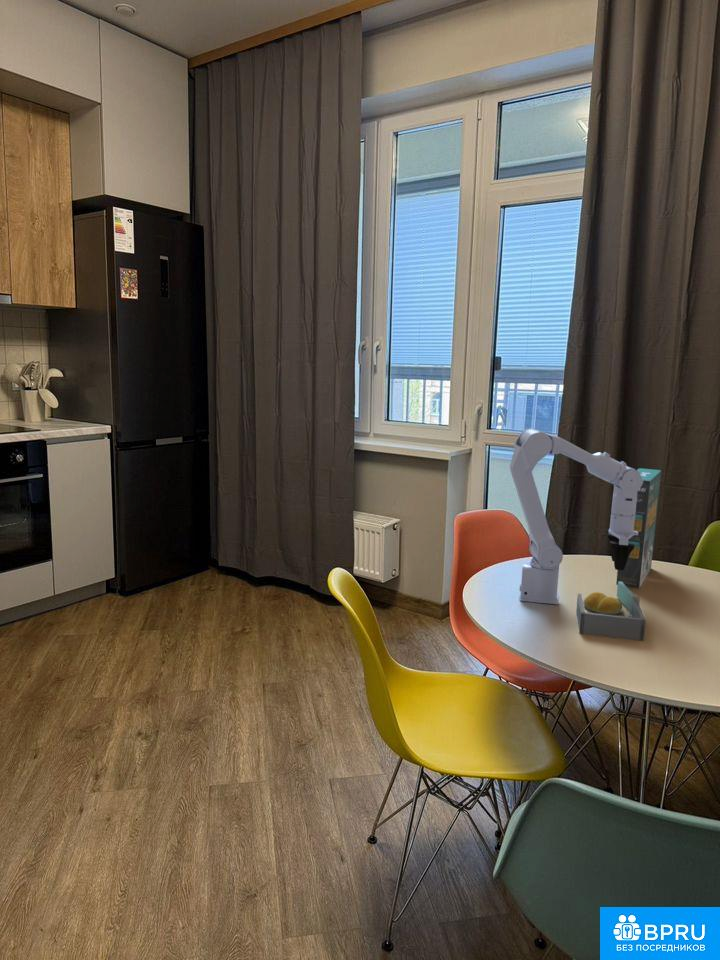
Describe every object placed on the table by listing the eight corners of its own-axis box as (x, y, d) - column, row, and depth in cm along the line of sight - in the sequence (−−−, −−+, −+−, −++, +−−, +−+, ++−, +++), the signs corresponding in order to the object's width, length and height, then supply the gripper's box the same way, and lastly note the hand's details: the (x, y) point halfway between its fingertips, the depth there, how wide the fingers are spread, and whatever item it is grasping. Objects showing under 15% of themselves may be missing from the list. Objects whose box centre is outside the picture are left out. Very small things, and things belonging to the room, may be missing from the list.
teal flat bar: (639, 616, 163) (641, 599, 163) (632, 616, 164) (634, 598, 163) (621, 596, 177) (623, 580, 176) (615, 596, 177) (617, 580, 177)
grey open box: (579, 633, 154) (581, 613, 153) (575, 608, 169) (577, 590, 168) (649, 641, 150) (651, 620, 149) (639, 615, 165) (641, 597, 164)
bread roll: (611, 619, 163) (613, 603, 163) (578, 608, 170) (579, 593, 169) (628, 611, 169) (630, 596, 168) (596, 601, 175) (597, 586, 175)
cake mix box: (629, 565, 207) (639, 468, 202) (651, 568, 204) (661, 470, 198) (616, 584, 188) (626, 478, 183) (639, 588, 185) (650, 480, 180)
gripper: (643, 521, 164) (638, 575, 166) (636, 509, 177) (631, 559, 180) (612, 518, 165) (607, 572, 168) (607, 506, 179) (603, 556, 182)
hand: (617, 565), depth 174 cm, fingers open, 7 cm apart
